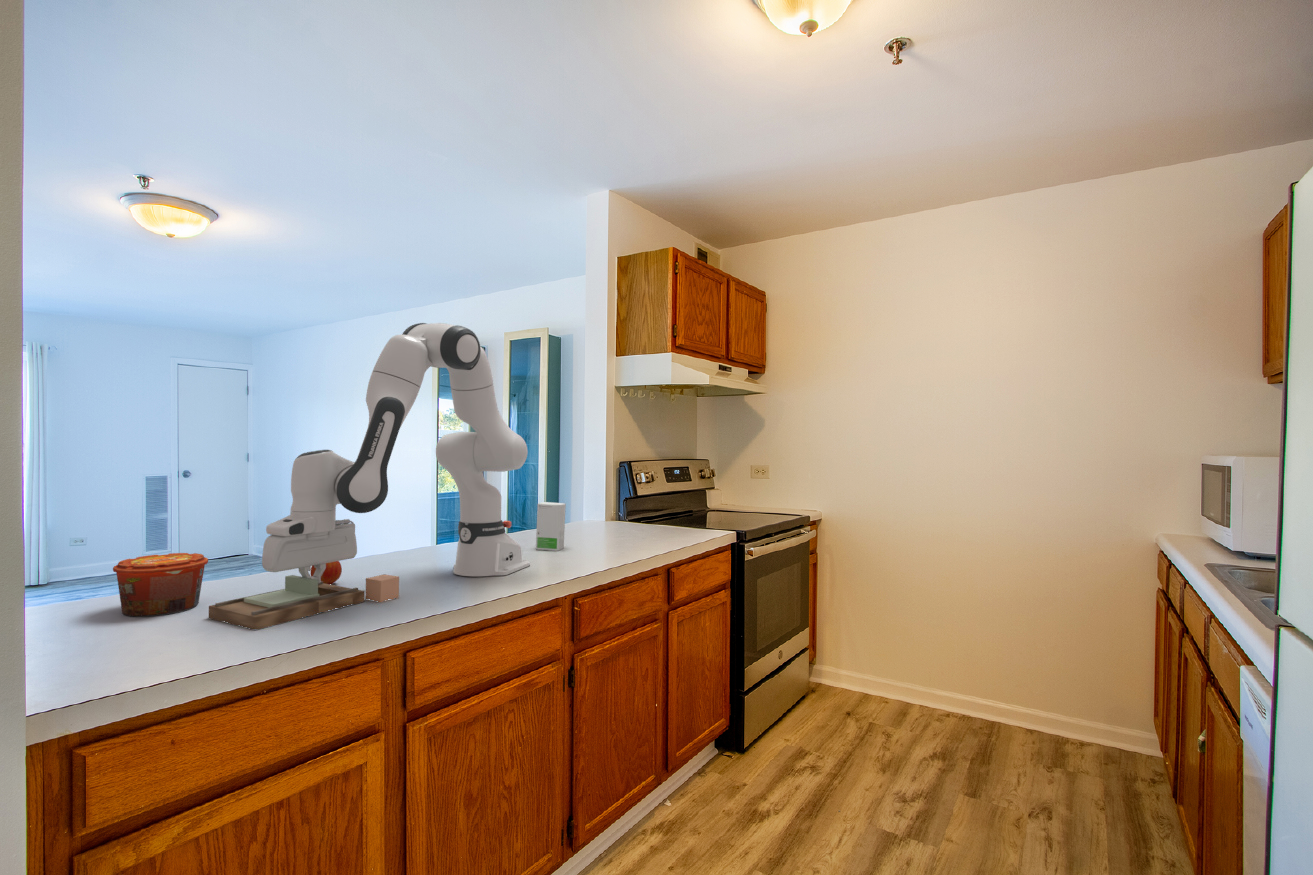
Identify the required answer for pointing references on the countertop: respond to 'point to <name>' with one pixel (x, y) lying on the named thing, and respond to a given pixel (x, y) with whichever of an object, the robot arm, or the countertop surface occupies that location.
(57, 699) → the countertop surface
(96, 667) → the countertop surface
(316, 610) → the puzzle board
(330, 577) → the fruit
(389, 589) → the terracotta block
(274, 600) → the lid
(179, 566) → the food container
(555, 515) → the skincare box
